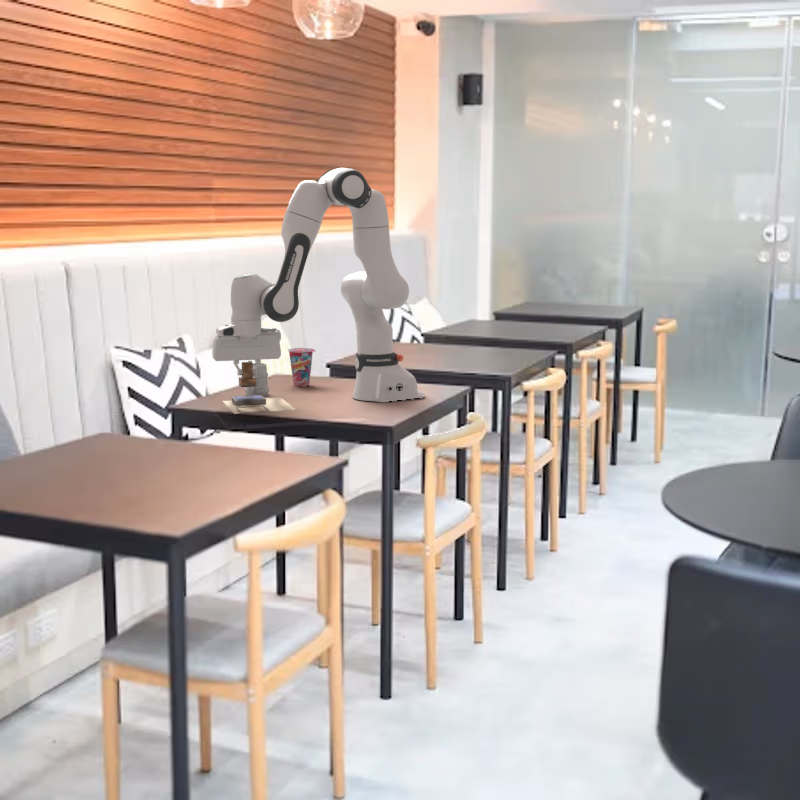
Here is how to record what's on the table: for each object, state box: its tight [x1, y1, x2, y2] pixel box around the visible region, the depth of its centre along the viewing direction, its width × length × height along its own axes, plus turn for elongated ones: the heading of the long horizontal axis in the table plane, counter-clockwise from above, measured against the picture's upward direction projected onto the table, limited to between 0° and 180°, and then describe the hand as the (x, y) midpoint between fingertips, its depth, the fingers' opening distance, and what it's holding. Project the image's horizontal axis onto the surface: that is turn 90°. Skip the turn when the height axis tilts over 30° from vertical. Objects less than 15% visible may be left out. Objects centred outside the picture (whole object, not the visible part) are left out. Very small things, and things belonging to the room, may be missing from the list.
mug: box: [244, 360, 270, 397], centre depth 349 cm, size 8×12×12 cm, turn 170°
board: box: [222, 395, 297, 415], centre depth 330 cm, size 18×21×3 cm
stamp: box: [238, 361, 256, 388], centre depth 332 cm, size 4×4×7 cm
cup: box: [287, 347, 316, 387], centre depth 369 cm, size 9×8×12 cm
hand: (247, 374), depth 332 cm, fingers closed on stamp, 3 cm apart
